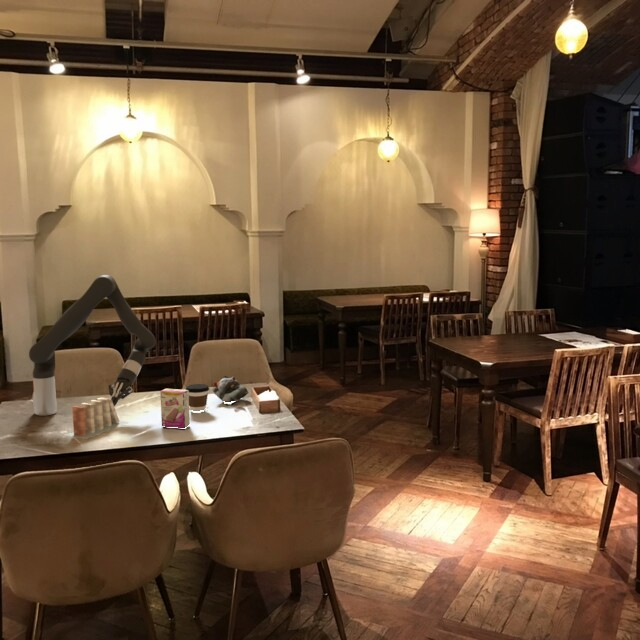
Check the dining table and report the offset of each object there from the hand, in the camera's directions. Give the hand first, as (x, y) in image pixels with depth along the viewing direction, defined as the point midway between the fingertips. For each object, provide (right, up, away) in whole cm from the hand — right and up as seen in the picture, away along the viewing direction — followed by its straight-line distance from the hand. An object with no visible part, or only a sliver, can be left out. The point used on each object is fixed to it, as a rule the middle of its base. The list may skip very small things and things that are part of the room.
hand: (111, 405), depth 306 cm
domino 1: (-8, -10, -16) cm, 20 cm away
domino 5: (+1, -7, +2) cm, 7 cm away
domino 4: (-2, -8, -2) cm, 9 cm away
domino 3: (-4, -9, -7) cm, 12 cm away
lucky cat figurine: (+47, -3, +36) cm, 60 cm away
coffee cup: (+34, -5, +20) cm, 40 cm away
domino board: (-4, -9, -7) cm, 12 cm away
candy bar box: (+29, -9, -4) cm, 30 cm away
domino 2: (-6, -10, -11) cm, 16 cm away
